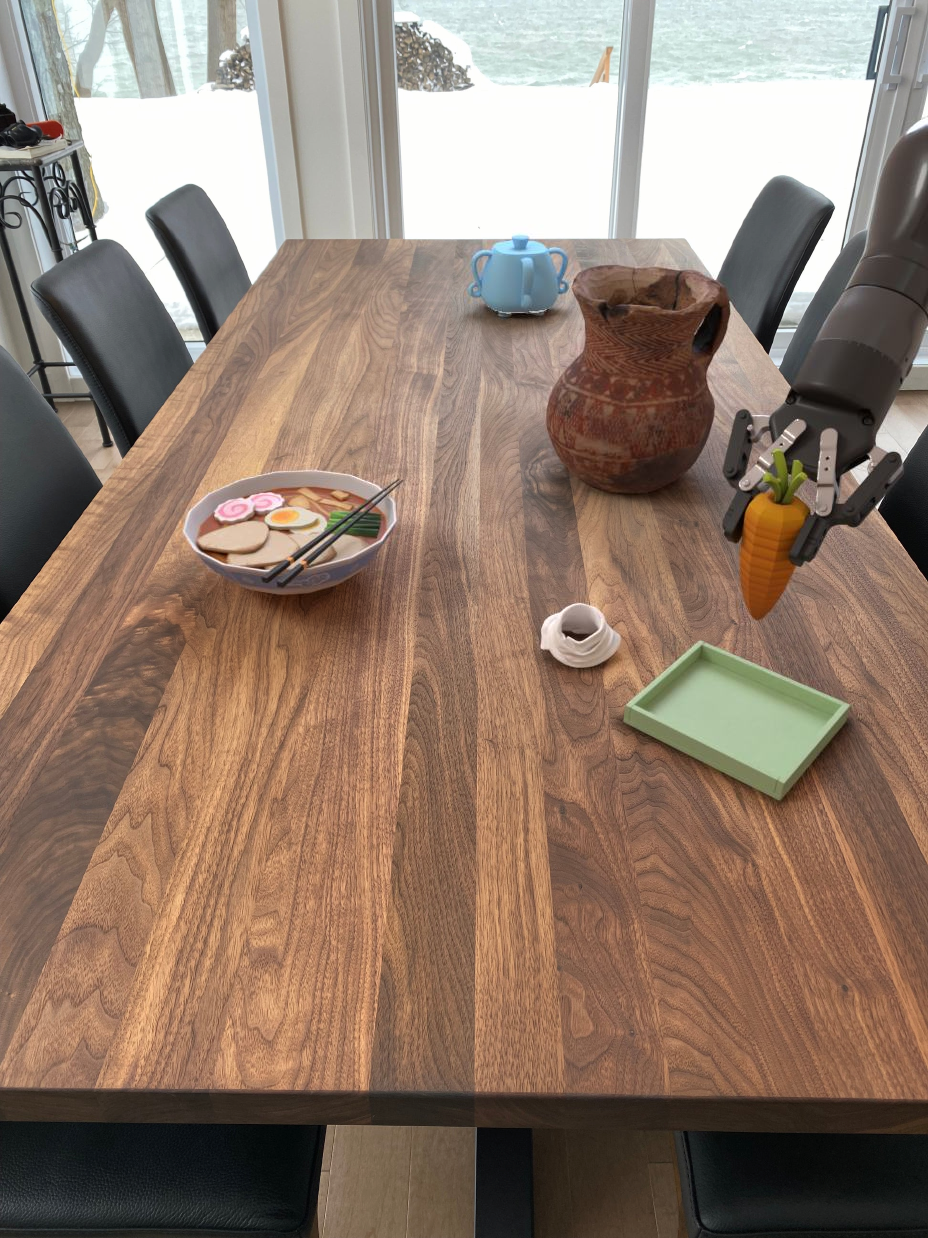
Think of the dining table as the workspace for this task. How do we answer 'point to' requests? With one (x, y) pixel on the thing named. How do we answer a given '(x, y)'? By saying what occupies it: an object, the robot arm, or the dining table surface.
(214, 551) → the ramen bowl
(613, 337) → the jug
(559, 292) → the decorative pot
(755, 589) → the carrot
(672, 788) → the dining table surface
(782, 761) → the green tray
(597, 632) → the white cowl scarf
